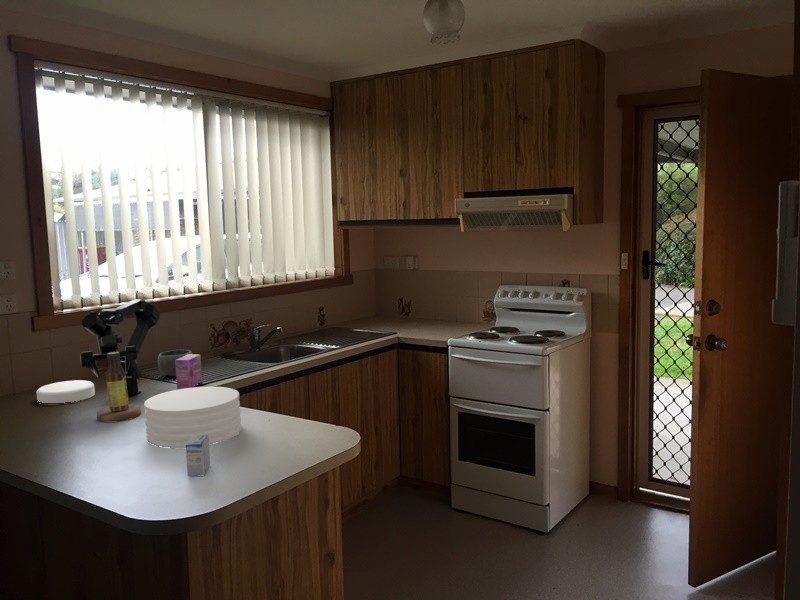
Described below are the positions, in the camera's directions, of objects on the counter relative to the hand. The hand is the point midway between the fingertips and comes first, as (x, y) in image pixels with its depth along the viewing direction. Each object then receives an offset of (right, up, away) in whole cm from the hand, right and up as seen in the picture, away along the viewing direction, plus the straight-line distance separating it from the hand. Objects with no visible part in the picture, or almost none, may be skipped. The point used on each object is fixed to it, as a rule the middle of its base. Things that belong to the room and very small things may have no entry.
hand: (113, 375), depth 244 cm
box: (+17, -8, +34) cm, 39 cm away
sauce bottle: (+4, -11, -5) cm, 13 cm away
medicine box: (+48, -19, -60) cm, 79 cm away
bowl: (+5, -6, +54) cm, 54 cm away
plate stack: (+37, -15, -28) cm, 49 cm away
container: (-27, -11, +23) cm, 38 cm away
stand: (+4, -13, -5) cm, 15 cm away
